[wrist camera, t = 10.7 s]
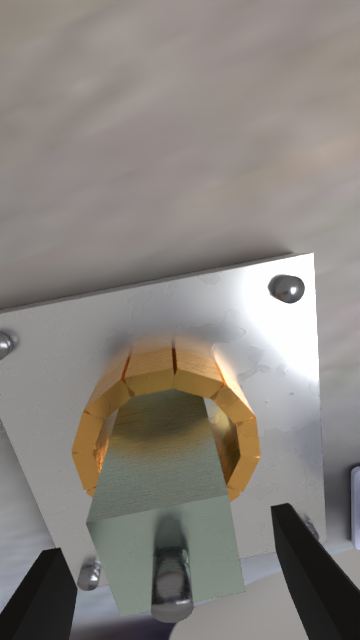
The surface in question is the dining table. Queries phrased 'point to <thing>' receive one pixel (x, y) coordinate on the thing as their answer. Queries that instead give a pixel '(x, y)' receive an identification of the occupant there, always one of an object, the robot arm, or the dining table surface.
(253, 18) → the dining table surface
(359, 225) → the dining table surface
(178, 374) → the bolted plate with ring
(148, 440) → the mint green square pillar
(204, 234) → the dining table surface
